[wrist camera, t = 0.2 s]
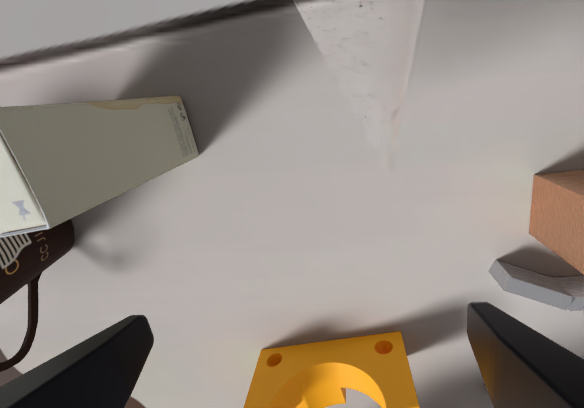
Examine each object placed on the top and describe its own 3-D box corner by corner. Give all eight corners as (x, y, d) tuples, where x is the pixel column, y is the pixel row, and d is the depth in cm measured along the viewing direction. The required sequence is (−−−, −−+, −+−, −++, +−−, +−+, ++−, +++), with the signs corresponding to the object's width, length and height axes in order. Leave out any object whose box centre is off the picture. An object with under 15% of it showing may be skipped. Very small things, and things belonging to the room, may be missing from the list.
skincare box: (182, 94, 21) (-10, 97, 9) (201, 158, 22) (55, 230, 11) (102, 113, 22) (-151, 137, 11) (126, 173, 23) (-77, 251, 12)
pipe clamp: (276, 384, 29) (260, 462, 23) (261, 348, 27) (239, 420, 21) (410, 370, 26) (431, 455, 20) (400, 329, 25) (419, 406, 19)
